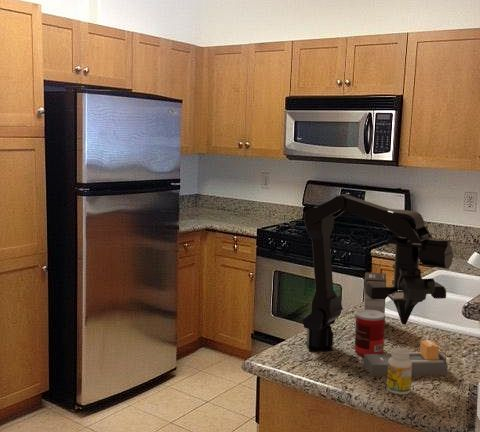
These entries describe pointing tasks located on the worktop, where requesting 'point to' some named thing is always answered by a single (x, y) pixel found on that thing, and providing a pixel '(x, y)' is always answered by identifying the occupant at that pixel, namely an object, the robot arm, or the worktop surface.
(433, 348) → the switch slider
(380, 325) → the canned food
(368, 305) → the coffee box
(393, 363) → the supplement bottle
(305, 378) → the worktop surface
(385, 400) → the worktop surface
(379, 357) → the switch base
